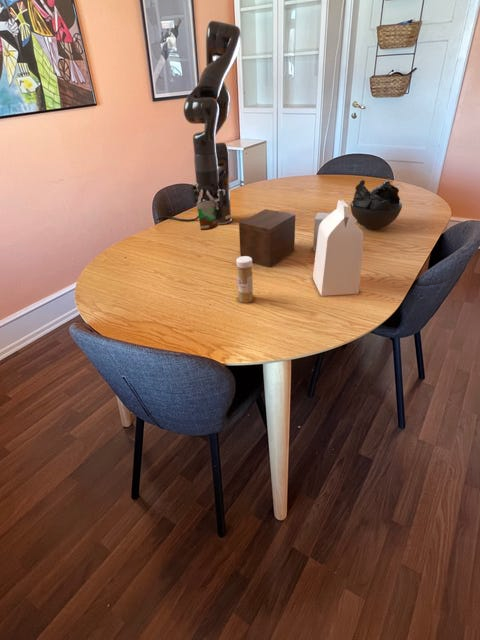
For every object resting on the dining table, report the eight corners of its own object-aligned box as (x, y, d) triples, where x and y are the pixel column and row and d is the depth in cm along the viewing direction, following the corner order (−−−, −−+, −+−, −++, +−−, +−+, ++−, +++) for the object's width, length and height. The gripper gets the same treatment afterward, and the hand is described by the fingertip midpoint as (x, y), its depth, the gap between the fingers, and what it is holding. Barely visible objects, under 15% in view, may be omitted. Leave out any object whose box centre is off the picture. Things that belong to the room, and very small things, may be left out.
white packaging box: (334, 245, 147) (337, 213, 140) (332, 252, 142) (335, 219, 135) (315, 243, 150) (317, 211, 143) (312, 251, 144) (314, 218, 137)
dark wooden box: (240, 259, 140) (238, 222, 133) (265, 243, 152) (265, 209, 144) (270, 267, 134) (270, 229, 126) (294, 250, 145) (295, 214, 137)
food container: (216, 232, 129) (214, 203, 124) (199, 231, 131) (196, 202, 125) (225, 219, 139) (223, 192, 134) (209, 219, 141) (206, 192, 135)
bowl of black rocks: (408, 228, 158) (417, 181, 148) (374, 240, 150) (382, 191, 139) (370, 216, 173) (376, 173, 162) (338, 226, 164) (342, 181, 154)
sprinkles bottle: (235, 300, 116) (233, 259, 109) (245, 294, 119) (243, 254, 111) (247, 304, 114) (245, 263, 106) (256, 298, 116) (255, 257, 109)
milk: (312, 277, 126) (318, 198, 112) (347, 275, 126) (356, 196, 112) (321, 295, 116) (328, 211, 101) (358, 293, 116) (370, 208, 102)
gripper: (230, 167, 123) (233, 217, 132) (197, 163, 130) (202, 211, 139) (216, 172, 118) (220, 224, 127) (182, 168, 125) (188, 217, 135)
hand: (210, 217), depth 133 cm, fingers closed on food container, 7 cm apart
